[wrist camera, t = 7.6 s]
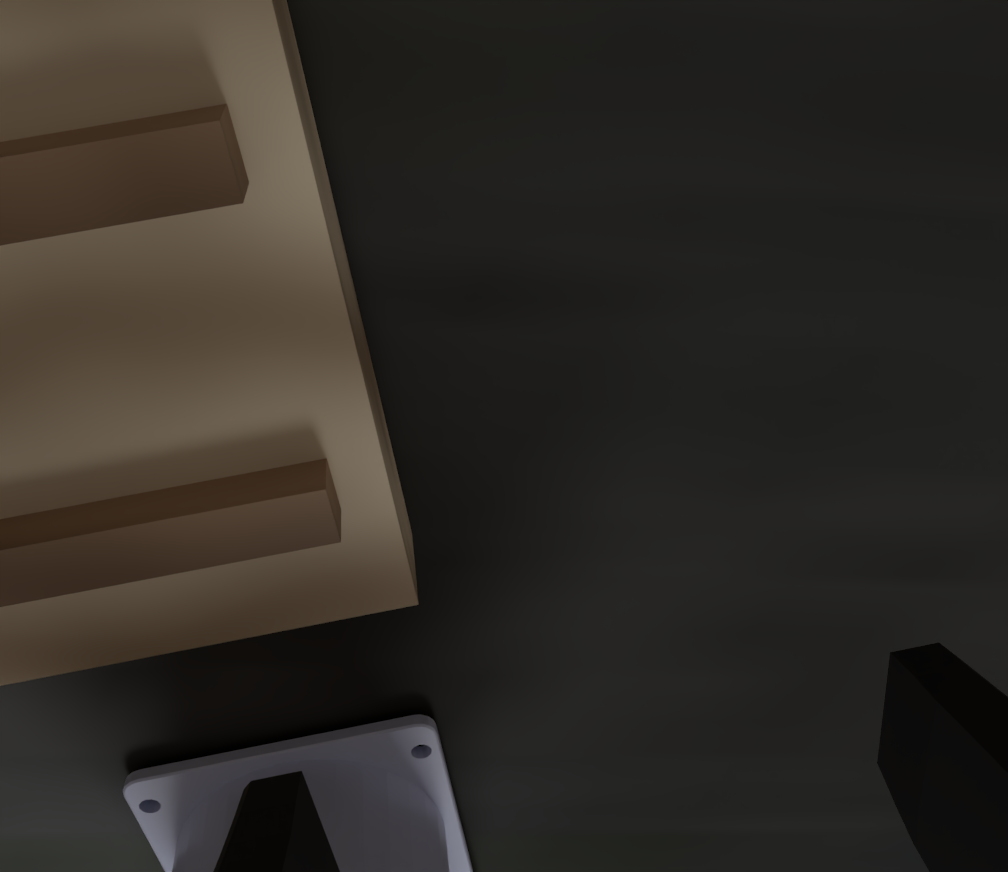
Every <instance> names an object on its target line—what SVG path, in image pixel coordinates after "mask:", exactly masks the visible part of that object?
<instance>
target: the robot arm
mask: <svg viewBox="0 0 1008 872" xmlns="http://www.w3.org/2000/svg"><path fill="white" fill-rule="evenodd" d="M418 745H424V746H418ZM877 763H878V765H879V768H880V770H881V772H882V775H883V777H884V779H885V782H886V784H887V786H888V788H889V791H890V793H891V795H892V798H893V800H894V802H895V805H896V807H897V809H898V811H899V813H900V816H901V818H902V820H903V822H904V824H905V826H906V828H907V831H908V833H909V835H910V837H911V839H912V841H913V844H914V845H915V847H916V849H917V851H918V852H919V854H920V856H921V858H922V859H923V861H924V863H925V865H926V866H927V868H928V870H929V871H930V872H1008V697H1007V696H1006V695H1005V694H1003V693H1002V692H1001V691H1000V690H998V689H997V688H996V687H995V686H993V685H992V684H991V683H990V682H988V681H987V680H986V679H985V678H983V677H982V676H981V675H980V674H978V673H977V672H976V671H975V670H973V669H972V668H971V667H970V666H968V665H967V664H966V663H964V662H963V661H962V660H961V659H959V658H958V657H957V656H956V655H954V654H953V653H952V652H950V651H949V650H948V649H947V648H945V647H944V646H943V645H941V644H940V643H935V644H930V645H925V646H920V647H915V648H910V649H905V650H900V651H895V652H890V659H889V668H888V676H887V685H886V693H885V702H884V710H883V719H882V728H881V736H880V745H879V753H878V762H877ZM123 794H124V797H125V799H126V801H127V803H128V805H129V806H130V808H131V810H132V812H133V814H134V816H135V817H136V819H137V821H138V823H139V825H140V827H141V828H142V830H143V832H144V834H145V836H146V838H147V839H148V841H149V843H150V845H151V847H152V849H153V850H154V852H155V854H156V856H157V858H158V860H159V861H160V863H161V865H162V867H163V869H164V871H165V872H473V868H472V864H471V860H470V856H469V852H468V848H467V845H466V841H465V837H464V833H463V829H462V825H461V821H460V817H459V813H458V809H457V805H456V801H455V797H454V793H453V789H452V785H451V781H450V777H449V773H448V769H447V765H446V761H445V757H444V754H443V750H442V746H441V742H440V738H439V734H438V730H437V726H436V723H435V722H434V720H433V719H432V718H430V717H429V716H425V715H421V714H420V715H410V716H405V717H400V718H395V719H390V720H385V721H380V722H375V723H370V724H365V725H360V726H355V727H350V728H345V729H340V730H335V731H330V732H325V733H320V734H315V735H310V736H305V737H300V738H295V739H290V740H285V741H280V742H275V743H270V744H265V745H260V746H255V747H250V748H245V749H240V750H235V751H230V752H225V753H220V754H215V755H210V756H205V757H200V758H195V759H190V760H185V761H180V762H175V763H170V764H165V765H160V766H155V767H149V768H144V769H140V770H137V771H134V772H132V773H131V774H129V775H128V776H127V778H126V780H125V784H124V788H123ZM150 799H152V800H150Z"/></svg>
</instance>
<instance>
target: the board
mask: <svg viewBox="0 0 1008 872" xmlns="http://www.w3.org/2000/svg"><path fill="white" fill-rule="evenodd" d="M414 605H419V604H418V593H417V582H416V571H415V560H414V549H413V538H412V531H411V527H410V523H409V518H408V514H407V510H406V506H405V501H404V497H403V493H402V489H401V484H400V480H399V476H398V472H397V467H396V463H395V459H394V455H393V450H392V446H391V442H390V438H389V434H388V429H387V425H386V421H385V417H384V412H383V408H382V404H381V400H380V395H379V391H378V387H377V383H376V378H375V374H374V370H373V366H372V361H371V357H370V353H369V349H368V344H367V340H366V336H365V332H364V327H363V323H362V319H361V315H360V310H359V306H358V302H357V298H356V293H355V289H354V285H353V281H352V276H351V272H350V268H349V264H348V259H347V255H346V251H345V247H344V242H343V238H342V234H341V230H340V225H339V221H338V217H337V213H336V208H335V204H334V200H333V196H332V191H331V187H330V183H329V179H328V174H327V170H326V166H325V162H324V157H323V153H322V149H321V145H320V140H319V136H318V132H317V128H316V123H315V119H314V115H313V111H312V106H311V102H310V98H309V94H308V89H307V85H306V81H305V77H304V72H303V68H302V64H301V60H300V55H299V51H298V47H297V43H296V38H295V34H294V30H293V26H292V21H291V17H290V13H289V9H288V4H287V0H0V686H2V685H7V684H13V683H18V682H23V681H28V680H33V679H38V678H43V677H49V676H54V675H59V674H64V673H69V672H74V671H80V670H85V669H90V668H95V667H100V666H105V665H110V664H116V663H121V662H126V661H131V660H136V659H141V658H146V657H152V656H157V655H162V654H167V653H172V652H177V651H183V650H188V649H193V648H198V647H203V646H208V645H213V644H219V643H224V642H229V641H234V640H239V639H244V638H249V637H255V636H260V635H265V634H270V633H275V632H280V631H286V630H291V629H296V628H301V627H306V626H311V625H316V624H322V623H327V622H332V621H337V620H342V619H347V618H352V617H358V616H363V615H368V614H373V613H378V612H383V611H388V610H394V609H399V608H404V607H409V606H414Z"/></svg>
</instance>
